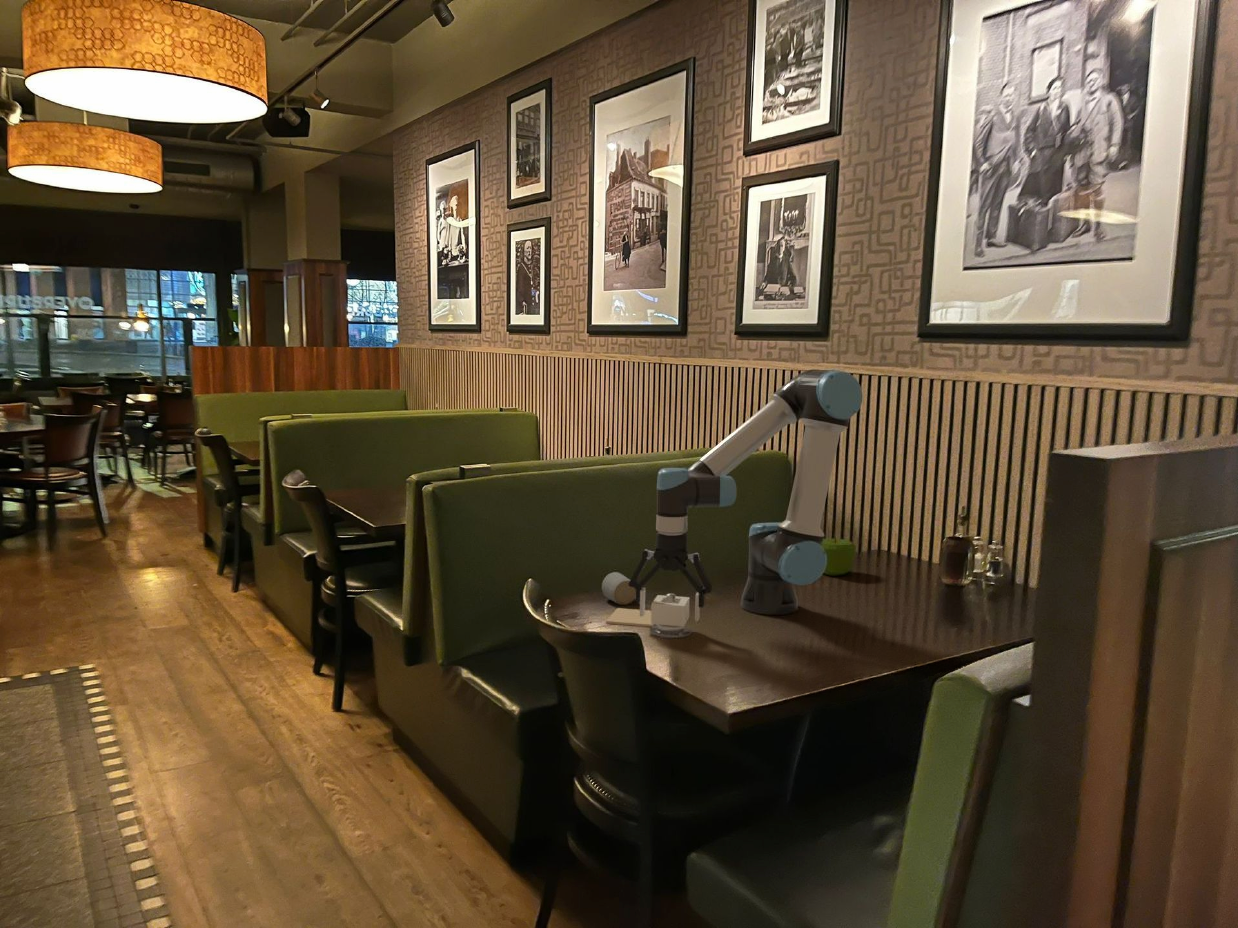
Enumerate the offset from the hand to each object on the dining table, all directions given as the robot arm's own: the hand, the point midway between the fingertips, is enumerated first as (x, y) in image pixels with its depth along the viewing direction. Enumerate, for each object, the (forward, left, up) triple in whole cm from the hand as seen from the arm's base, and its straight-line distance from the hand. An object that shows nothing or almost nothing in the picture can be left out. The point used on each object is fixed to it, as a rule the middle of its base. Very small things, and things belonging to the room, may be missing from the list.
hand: (669, 617), depth 218 cm
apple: (-39, -71, -4) cm, 81 cm away
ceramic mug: (+17, -24, -4) cm, 29 cm away
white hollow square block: (0, 0, -1) cm, 1 cm away
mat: (+11, -9, -4) cm, 15 cm away
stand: (0, 0, -4) cm, 4 cm away
